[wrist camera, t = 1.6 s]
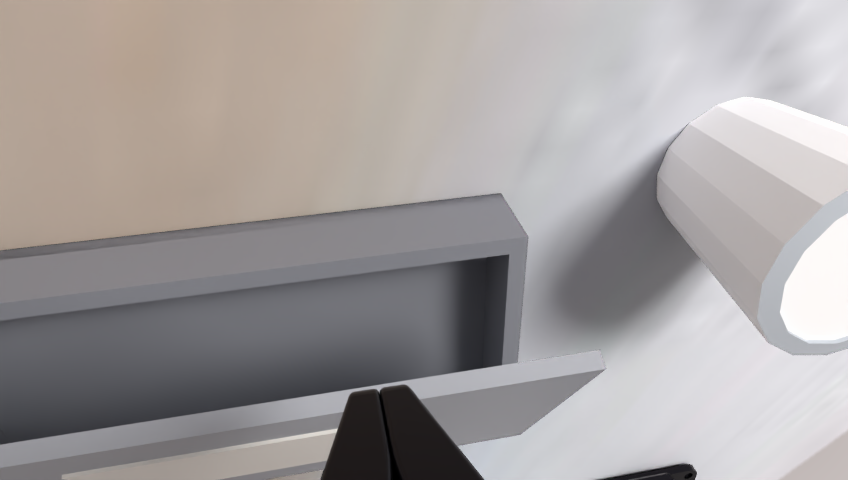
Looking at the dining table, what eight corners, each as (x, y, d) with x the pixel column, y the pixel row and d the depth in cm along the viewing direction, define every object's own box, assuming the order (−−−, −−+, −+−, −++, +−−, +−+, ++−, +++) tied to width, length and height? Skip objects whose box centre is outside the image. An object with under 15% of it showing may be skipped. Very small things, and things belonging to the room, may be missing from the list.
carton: (491, 370, 26) (512, 422, 24) (8, 447, 23) (-26, 516, 21) (501, 193, 21) (528, 236, 19) (-109, 263, 19) (-171, 324, 16)
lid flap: (516, 422, 24) (520, 437, 24) (-32, 517, 21) (-35, 535, 21) (600, 349, 15) (607, 372, 15) (-330, 496, 12) (-343, 529, 12)
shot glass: (776, 231, 25) (921, 342, 19) (626, 251, 24) (732, 374, 18) (834, 72, 21) (1034, 150, 16) (659, 87, 20) (805, 177, 15)
